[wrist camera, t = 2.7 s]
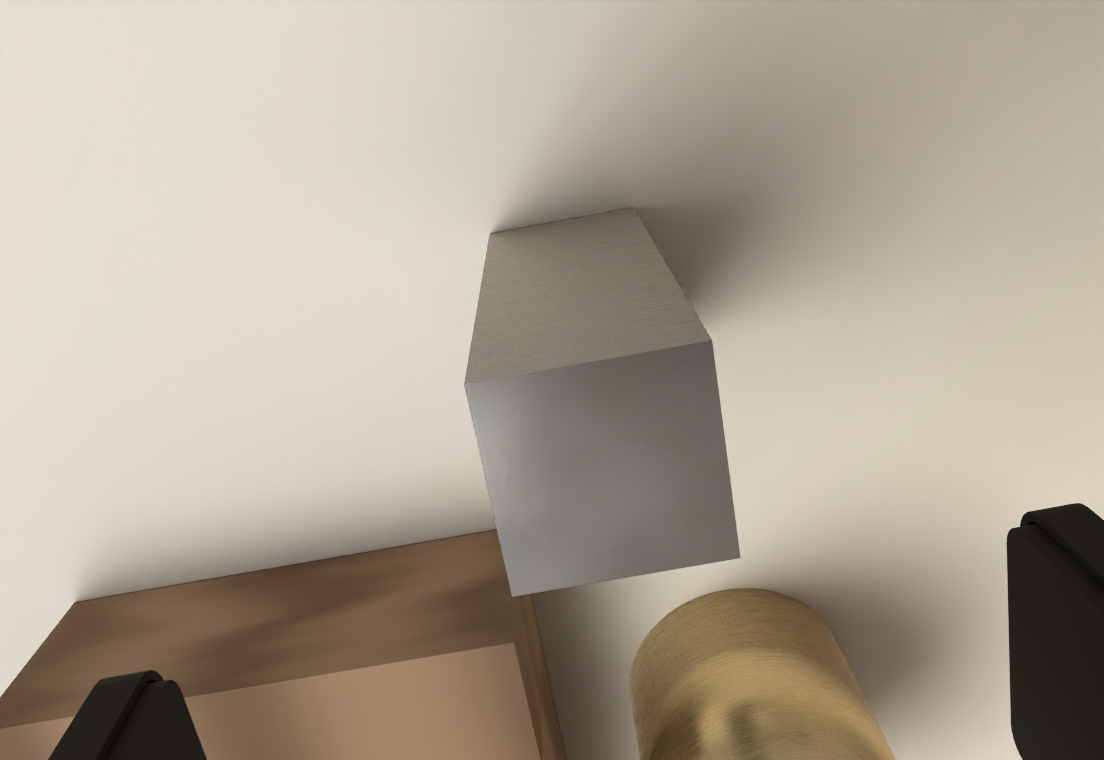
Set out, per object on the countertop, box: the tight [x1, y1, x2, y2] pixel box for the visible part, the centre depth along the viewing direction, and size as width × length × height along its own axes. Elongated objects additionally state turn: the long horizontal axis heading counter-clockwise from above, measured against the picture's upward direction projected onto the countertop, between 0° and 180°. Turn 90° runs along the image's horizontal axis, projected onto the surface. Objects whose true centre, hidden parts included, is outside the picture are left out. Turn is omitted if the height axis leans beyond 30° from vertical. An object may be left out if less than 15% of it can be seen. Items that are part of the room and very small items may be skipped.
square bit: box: [464, 207, 740, 597], centre depth 22 cm, size 4×4×12 cm
